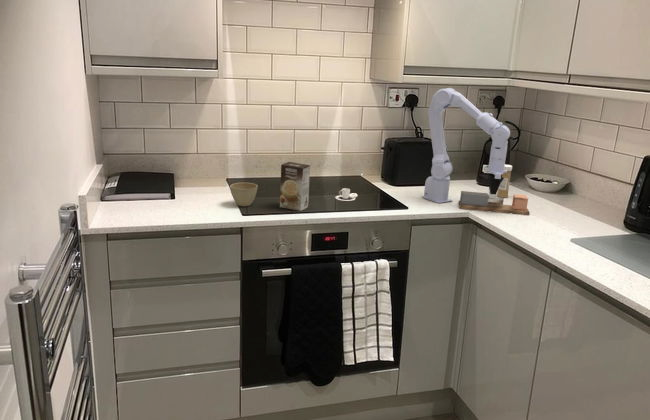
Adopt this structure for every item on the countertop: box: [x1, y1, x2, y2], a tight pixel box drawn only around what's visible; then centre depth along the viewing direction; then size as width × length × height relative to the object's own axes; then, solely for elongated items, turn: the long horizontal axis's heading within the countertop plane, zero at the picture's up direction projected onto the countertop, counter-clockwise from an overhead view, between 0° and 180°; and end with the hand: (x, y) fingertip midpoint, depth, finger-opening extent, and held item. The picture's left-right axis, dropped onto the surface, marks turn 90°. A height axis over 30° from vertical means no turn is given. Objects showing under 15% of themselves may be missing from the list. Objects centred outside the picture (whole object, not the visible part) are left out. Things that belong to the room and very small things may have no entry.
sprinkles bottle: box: [496, 164, 513, 199], centre depth 224 cm, size 5×5×14 cm
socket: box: [511, 193, 529, 211], centre depth 204 cm, size 4×5×5 cm
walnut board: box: [457, 200, 530, 216], centre depth 206 cm, size 26×8×1 cm, turn 80°
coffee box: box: [279, 161, 311, 212], centre depth 194 cm, size 9×6×16 cm
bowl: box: [229, 182, 258, 207], centre depth 196 cm, size 10×10×7 cm
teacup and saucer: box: [334, 187, 358, 202], centre depth 211 cm, size 9×8×4 cm
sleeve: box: [459, 190, 489, 207], centre depth 207 cm, size 10×4×4 cm, turn 80°
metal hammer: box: [488, 188, 505, 205], centre depth 205 cm, size 14×3×8 cm, turn 80°
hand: (492, 193), depth 205 cm, fingers closed on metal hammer, 2 cm apart
